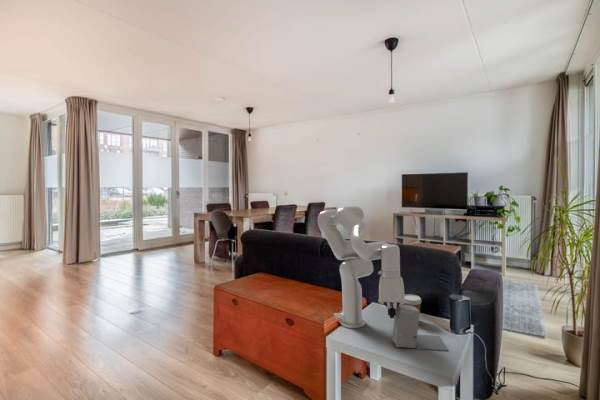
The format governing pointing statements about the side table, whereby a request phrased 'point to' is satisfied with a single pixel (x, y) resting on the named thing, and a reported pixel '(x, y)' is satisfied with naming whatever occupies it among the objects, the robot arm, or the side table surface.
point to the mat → (430, 343)
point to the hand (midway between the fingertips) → (391, 316)
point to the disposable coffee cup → (412, 301)
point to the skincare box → (405, 326)
